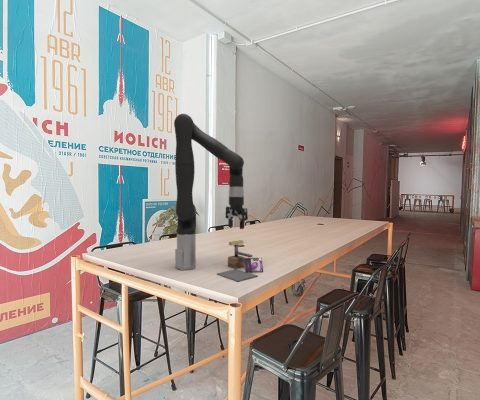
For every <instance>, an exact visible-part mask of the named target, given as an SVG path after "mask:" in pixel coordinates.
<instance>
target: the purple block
mask: <svg viewBox="0 0 480 400" xmlns="http://www.w3.org/2000/svg"><path fill="white" fill-rule="evenodd" d="M252 260H253V261H254V262H252ZM244 262H245V267H244V272H248V273H263V272H264V266H263V258H262V257H245V258H244ZM258 266H259V271H257V269H258ZM255 270H256V271H255Z"/></svg>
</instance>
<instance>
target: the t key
mask: <svg viewBox="0 0 480 400" xmlns="http://www.w3.org/2000/svg"><path fill="white" fill-rule="evenodd" d="M242 244H243V245H244V240H232V241H229V242H228V246H231V247H232V246H234V256H235V257H238V256H242V257H245V258H253V254H250V253H245V252H241V251H239V245H242Z"/></svg>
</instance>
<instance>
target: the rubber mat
mask: <svg viewBox="0 0 480 400" xmlns="http://www.w3.org/2000/svg"><path fill="white" fill-rule="evenodd" d="M216 275H217V276H220V277H222V278H225V279H228V280H231V281H234V282H237V283H240V282H242V281H243V282H244V281H247V280H250V279H254V278H258V275H257V274H253V273H252V272H245V270H241V269H239V268H238V269H234V268H233V269H230V270H226V271H221V272H218V273H217V272H216Z"/></svg>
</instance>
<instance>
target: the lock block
mask: <svg viewBox="0 0 480 400" xmlns="http://www.w3.org/2000/svg"><path fill="white" fill-rule="evenodd" d="M244 258H246V256H242V255H238V257H235V255H230V256H228V257H227V267H228V268H231V269H233V270H234V269H238V270H239V269H242V268H245V262H244Z"/></svg>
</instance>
